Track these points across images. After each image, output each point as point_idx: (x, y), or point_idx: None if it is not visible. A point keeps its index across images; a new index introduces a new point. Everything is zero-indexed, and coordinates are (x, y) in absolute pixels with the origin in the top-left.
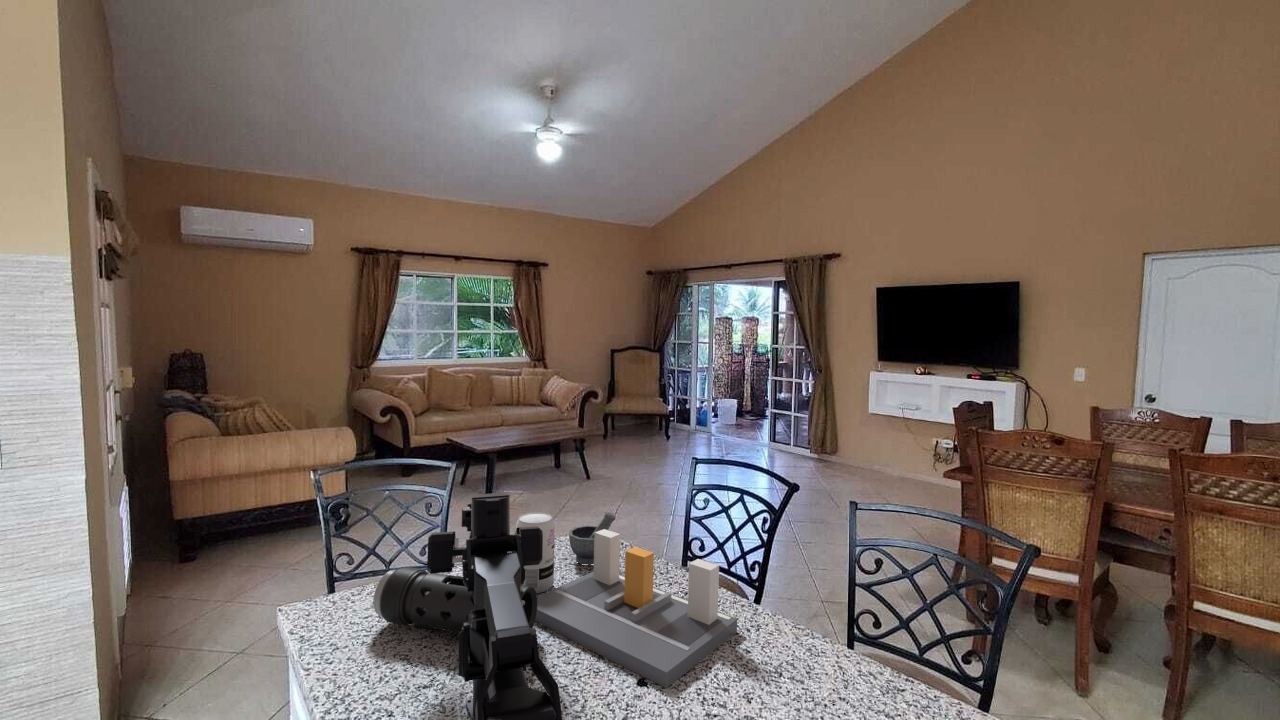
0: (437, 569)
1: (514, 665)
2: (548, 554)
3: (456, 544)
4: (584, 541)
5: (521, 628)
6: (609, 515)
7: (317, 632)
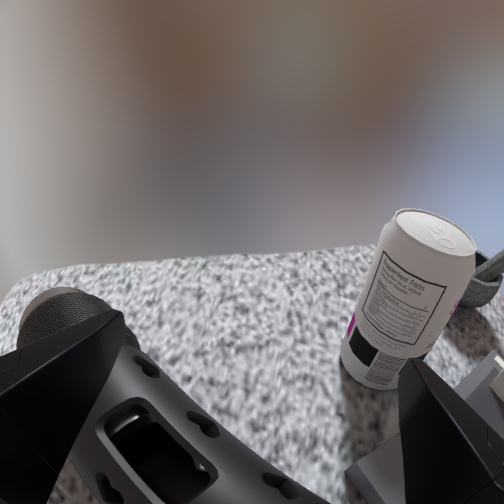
0: None
1: None
2: (440, 331)
3: (32, 414)
4: (474, 284)
5: None
6: None
7: (6, 338)
